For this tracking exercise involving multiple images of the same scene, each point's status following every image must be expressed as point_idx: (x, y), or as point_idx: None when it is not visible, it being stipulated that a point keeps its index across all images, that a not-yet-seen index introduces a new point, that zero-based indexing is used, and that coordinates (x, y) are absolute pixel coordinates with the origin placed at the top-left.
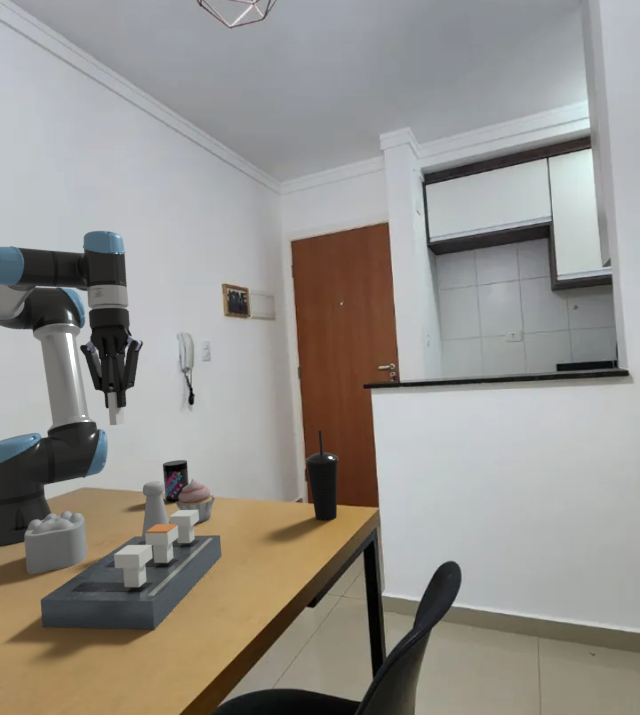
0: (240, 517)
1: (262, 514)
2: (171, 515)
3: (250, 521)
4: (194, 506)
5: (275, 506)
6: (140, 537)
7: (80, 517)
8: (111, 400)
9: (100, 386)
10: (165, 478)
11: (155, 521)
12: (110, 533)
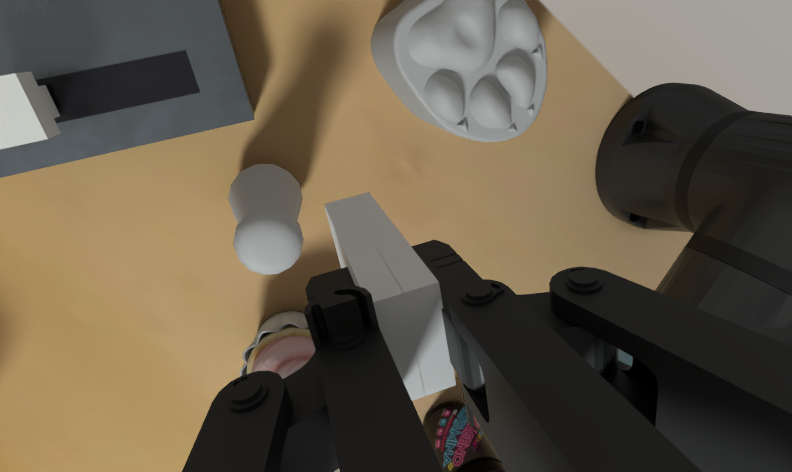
0: (182, 381)
1: (137, 413)
2: (17, 83)
3: (131, 368)
4: (260, 333)
5: (145, 463)
6: (229, 116)
7: (430, 98)
8: (384, 260)
9: (560, 308)
10: (480, 441)
11: (243, 188)
12: (442, 213)
